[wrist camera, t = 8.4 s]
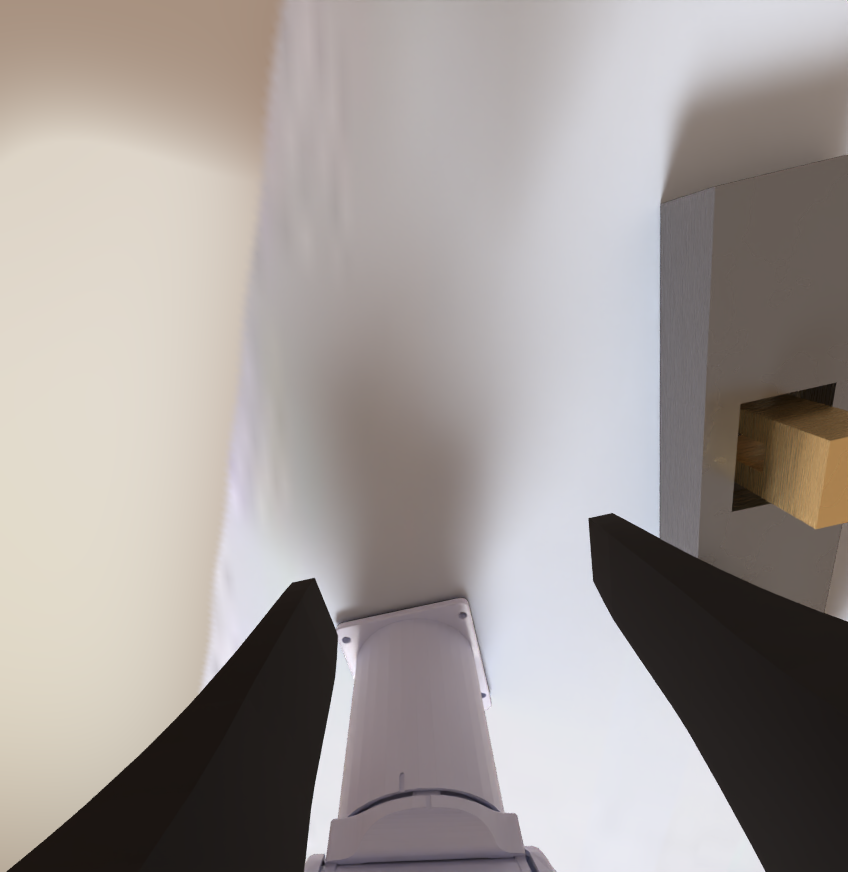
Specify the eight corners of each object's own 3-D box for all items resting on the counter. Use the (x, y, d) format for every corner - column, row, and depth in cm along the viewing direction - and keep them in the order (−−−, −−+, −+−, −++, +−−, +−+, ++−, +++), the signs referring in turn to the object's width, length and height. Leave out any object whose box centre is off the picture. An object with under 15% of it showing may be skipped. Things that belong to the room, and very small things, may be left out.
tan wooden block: (748, 453, 21) (878, 515, 15) (703, 463, 21) (815, 529, 15) (754, 385, 19) (899, 425, 14) (706, 396, 19) (830, 440, 14)
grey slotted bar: (773, 579, 24) (822, 618, 21) (659, 603, 24) (693, 645, 21) (830, 163, 16) (921, 137, 13) (660, 203, 16) (715, 186, 13)
